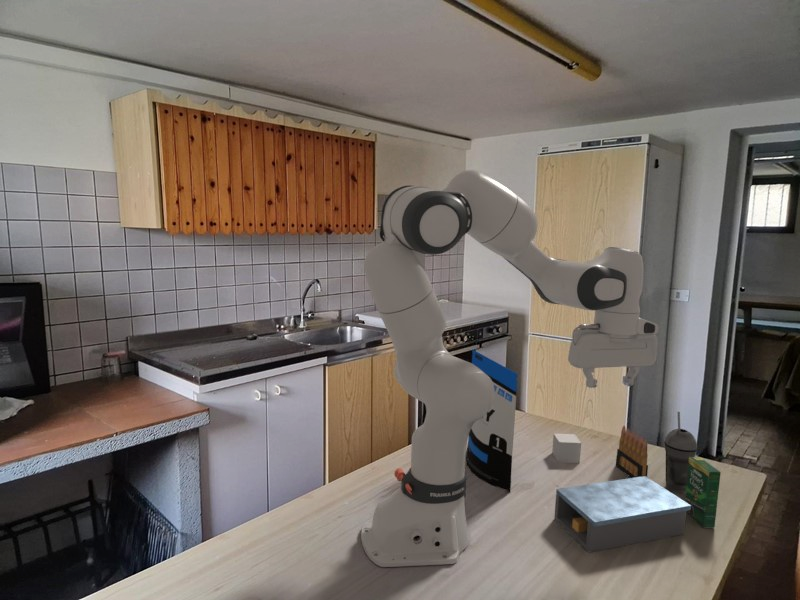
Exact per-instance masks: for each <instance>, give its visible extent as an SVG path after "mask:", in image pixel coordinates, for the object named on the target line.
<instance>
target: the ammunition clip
mask: <svg viewBox="0 0 800 600" xmlns="http://www.w3.org/2000/svg"><path fill="white" fill-rule="evenodd" d="M620 432H621V433H620V438H619V441H618V442H619V444H618V448H617V451H616V456H615V457H616V458H615V467H616V468H617V469H618V470H620V471H621V472H623V473H624V474H625V475H626V476H628V477H629V478H635V477H642V476H646V477H647V478H648V472H649V465H648V440H647V439H646V438H645V439H644V440H643V436H642V435H641V436H639V434H638V433H634V430H631V431H630V428H629V427H628V428H627V429H626V425H623V426H622V427H621V431H620Z"/></svg>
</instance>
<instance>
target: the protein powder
mask: <svg viewBox="0 0 800 600" xmlns="http://www.w3.org/2000/svg"><path fill="white" fill-rule="evenodd" d="M471 352H472V355H471V363H472V364H474V365H475V366H476V367H478V368H479V369H480V370H482V371H483V372H484V373H485V374H487V375H488V376H489V377H490V379H491V380H492V382H493V385H494V391H495V394H494V400H493V403H492V406H491V408H490V409H489V411H488V412H487V413H486V415H485V416H483V417H482V418H481V419H479V420H477V421H476V422H475V423H474V424H473V426H472V427H471V430H470V432H469V435H468V439H467V446H466V458H465V463H466V462H467V463H466V466H467V468H468V470H469V469H470V470H469V471H470V472H471V473H472V474H473V475H474V474H475V475H474V476H476V477H477V478H478V479H480V480H481V481H483V482H485V483H487V484H489V485H490V486H493V487H496V488H499V489H502V490H504V491H508V492H509V493H511V490H512V489H511V487H512V469H513V468H512V465H513V450H514V449H513V448H514V437H515V424H516V423H515V420H516V406H517V405H516V404H517V402H516V401H517V387H518V380H517V379H518V373H517V372H515V371H513V370H511V369H509V367H508V368H507V367H506V366H504V365H502V364H500V363H499V362H497V361H495V360H493V359H491V358H490V357H488V356H485V355H484V354H482V353H480V352H478V351H477V350H474V349H472V351H471Z"/></svg>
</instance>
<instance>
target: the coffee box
mask: <svg viewBox="0 0 800 600" xmlns="http://www.w3.org/2000/svg"><path fill="white" fill-rule="evenodd" d="M720 480H721V471H720V470H718V468H715V467H714V466H713V465H712V464H710V463H708V462H707V461H706V460H705V459H703V458H702V457H700V456H695V457H689V463H688V475H687V486H686V492H685V497H684V501H685V502H686V503H688V504H690V505H691V510H687V511H686V513H688V514H689V515H690V516H691V517H692V518H693V519H694V520H695V521H696V522H697V523H698V524H699V525H700V526H701V527H702V528H704V529H714V528H715V526H716V525H715V524H716V520H717V519H716V518H717V508H718V498H719V489H720Z"/></svg>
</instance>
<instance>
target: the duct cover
mask: <svg viewBox="0 0 800 600" xmlns="http://www.w3.org/2000/svg"><path fill="white" fill-rule="evenodd" d="M555 493H556V494H558V495H559V496H560V497H561V498H562V499H563V500H564V501H566V502H567V503H568V504H569V505H570V506H571V507H572V508H574V509H575V510H576V511H577V512H578V513H579V514H580V515H582V516H583V517H584V518H585V519H586V520H587V521H588V522H590V523H591V524H592V525H593V526H594V527H597V526H602V525H608V524H614V523H619V522H625V521H631V520H636V519H642V518H648V517H653V516H659V515H665V514H670V513H676V512H682V511H686V512H687V510H691V505H690V504H688V503H686V502H685V500H683V499H681V498H680V497H679V496H677V495H676V494H674V493H673V492H672V491H670V490H668V489H667V488H666V487H663V486H661V485H660V484H658V483H657V482H656V481H653V480H652V479H650V478H649V477H648V476H647V477H646V476H642V477H635V478H630V477H629V478H623V479H622V478H621V479H616V480H608V481H603V482H594V483H588V484H583V485H576V486H567V487H561V488H557V489H556V491H555ZM556 494H555V495H556Z"/></svg>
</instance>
